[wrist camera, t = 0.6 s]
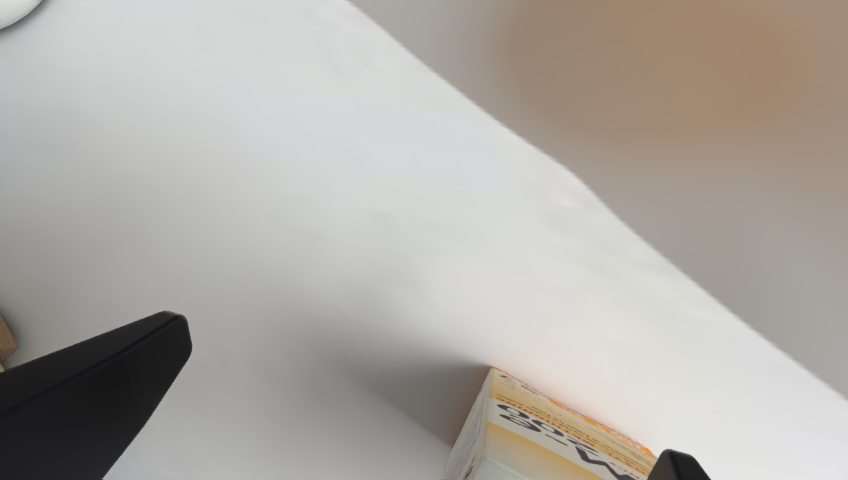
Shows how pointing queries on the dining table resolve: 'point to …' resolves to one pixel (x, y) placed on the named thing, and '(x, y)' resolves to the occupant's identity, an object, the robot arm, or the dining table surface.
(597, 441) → the supplement box
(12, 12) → the flower in vase
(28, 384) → the robot arm
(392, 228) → the dining table surface
